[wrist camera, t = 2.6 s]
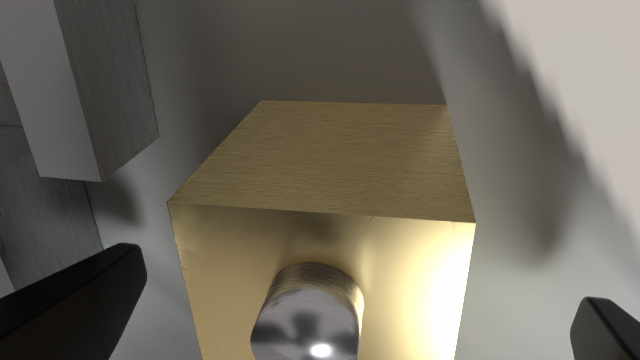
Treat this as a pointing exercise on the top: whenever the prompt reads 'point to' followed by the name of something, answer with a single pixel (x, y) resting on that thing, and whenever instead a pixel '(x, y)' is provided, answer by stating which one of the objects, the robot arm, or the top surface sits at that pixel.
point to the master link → (328, 234)
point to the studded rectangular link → (65, 126)
